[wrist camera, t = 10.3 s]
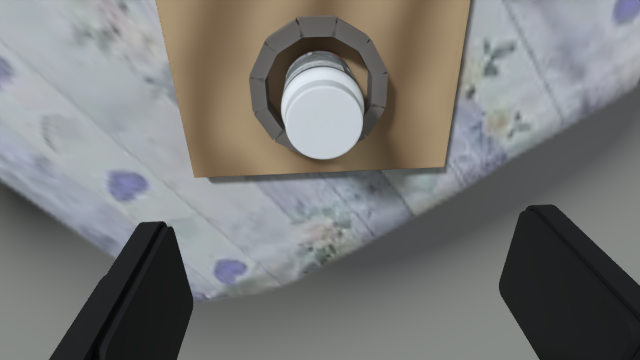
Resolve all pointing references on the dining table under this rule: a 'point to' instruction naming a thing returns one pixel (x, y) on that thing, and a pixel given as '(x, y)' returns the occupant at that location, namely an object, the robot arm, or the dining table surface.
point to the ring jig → (278, 54)
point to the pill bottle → (322, 105)
